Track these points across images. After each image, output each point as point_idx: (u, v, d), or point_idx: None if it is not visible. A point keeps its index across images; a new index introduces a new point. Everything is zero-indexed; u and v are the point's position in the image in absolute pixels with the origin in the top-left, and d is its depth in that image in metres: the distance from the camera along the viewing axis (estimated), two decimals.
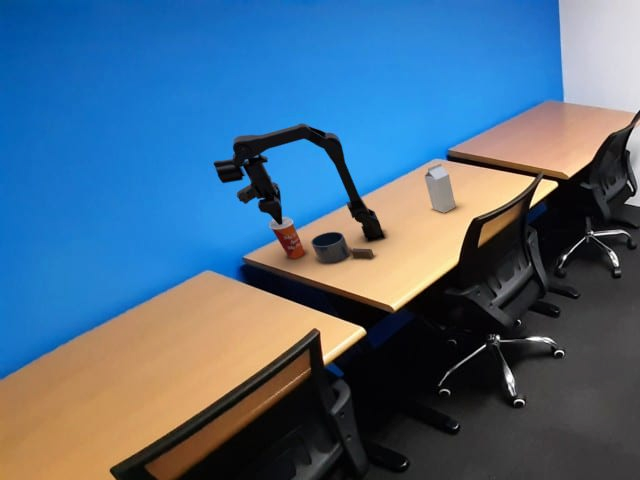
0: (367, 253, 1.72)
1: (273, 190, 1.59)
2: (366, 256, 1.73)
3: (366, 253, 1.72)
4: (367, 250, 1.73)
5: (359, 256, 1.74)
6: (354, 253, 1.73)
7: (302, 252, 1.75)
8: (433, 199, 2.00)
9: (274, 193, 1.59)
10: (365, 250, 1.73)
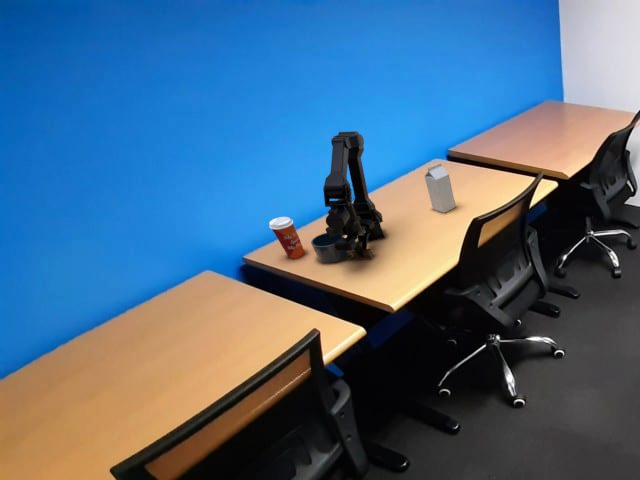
0: (367, 253, 1.72)
1: (356, 230, 1.66)
2: (366, 256, 1.73)
3: (366, 253, 1.72)
4: (367, 250, 1.73)
5: (359, 256, 1.74)
6: (354, 253, 1.73)
7: (302, 252, 1.75)
8: (433, 199, 2.00)
9: (356, 233, 1.66)
10: (365, 250, 1.73)
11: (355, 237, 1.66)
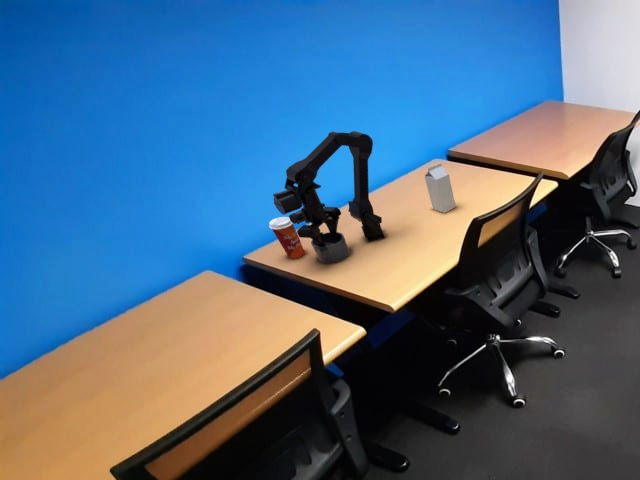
0: None
1: (320, 218, 1.63)
2: None
3: None
4: None
5: None
6: (327, 244, 1.75)
7: (302, 252, 1.75)
8: (433, 199, 2.00)
9: (320, 221, 1.63)
10: None
11: (319, 224, 1.64)
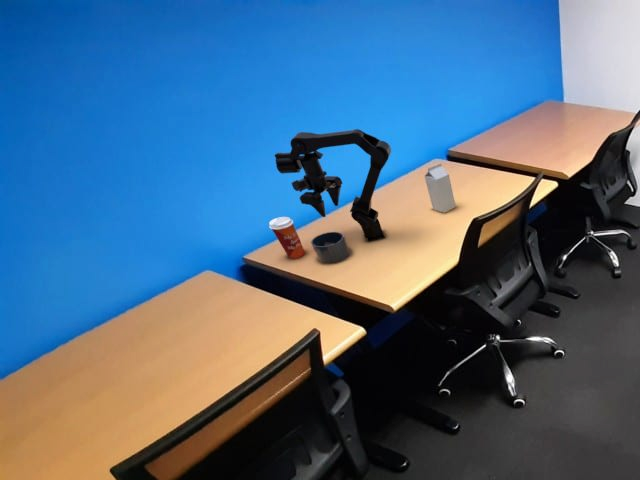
0: None
1: (322, 185, 1.68)
2: None
3: None
4: None
5: None
6: (327, 244, 1.75)
7: (302, 252, 1.75)
8: (433, 199, 2.00)
9: (322, 188, 1.68)
10: None
11: (321, 192, 1.69)
